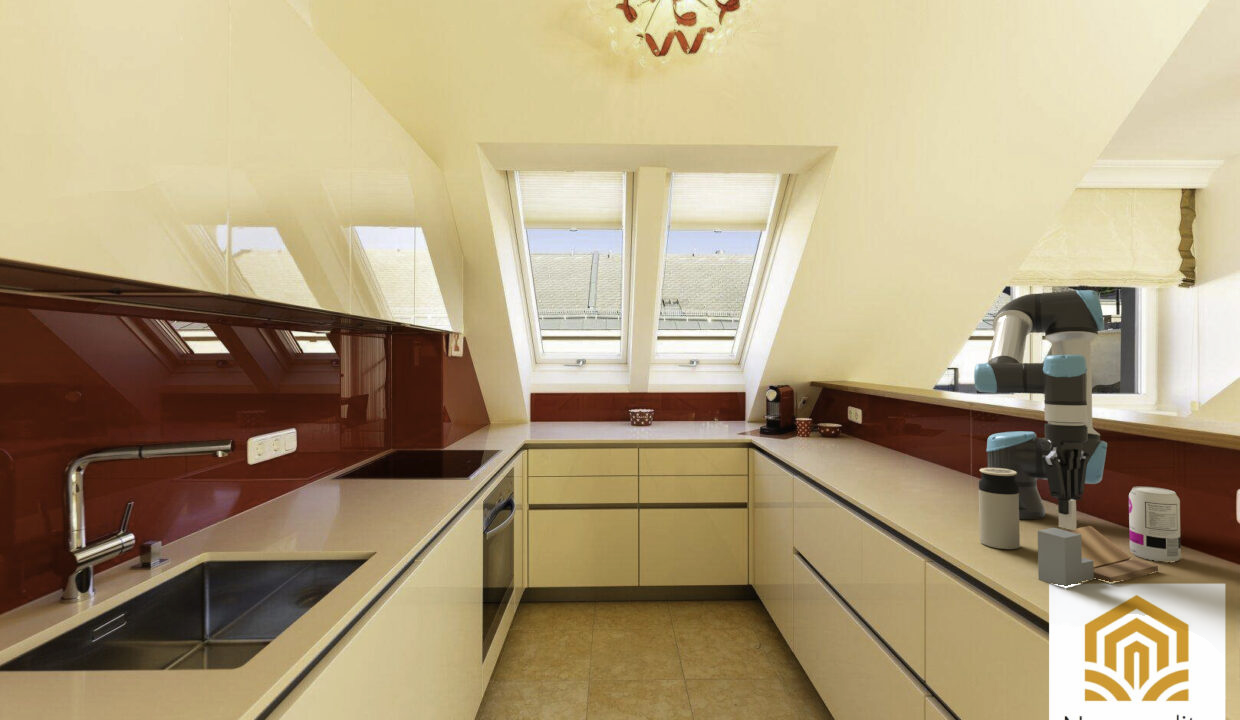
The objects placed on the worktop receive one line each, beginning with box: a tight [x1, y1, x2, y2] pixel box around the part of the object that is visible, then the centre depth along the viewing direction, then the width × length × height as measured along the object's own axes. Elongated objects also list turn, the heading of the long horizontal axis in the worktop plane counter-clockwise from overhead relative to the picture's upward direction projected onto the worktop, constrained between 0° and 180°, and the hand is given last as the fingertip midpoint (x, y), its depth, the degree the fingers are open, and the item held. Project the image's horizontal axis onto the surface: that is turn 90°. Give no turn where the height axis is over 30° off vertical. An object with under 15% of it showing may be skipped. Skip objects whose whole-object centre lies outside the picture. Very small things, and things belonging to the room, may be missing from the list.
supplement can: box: [1128, 486, 1182, 563], centre depth 123 cm, size 8×8×15 cm
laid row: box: [1094, 558, 1159, 582], centre depth 114 cm, size 16×5×1 cm, turn 111°
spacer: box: [1037, 527, 1095, 586], centre depth 111 cm, size 10×5×10 cm, turn 110°
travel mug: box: [978, 467, 1021, 551], centre depth 133 cm, size 8×8×18 cm
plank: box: [1065, 525, 1132, 569], centre depth 120 cm, size 16×9×1 cm
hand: (1067, 527), depth 123 cm, fingers closed
